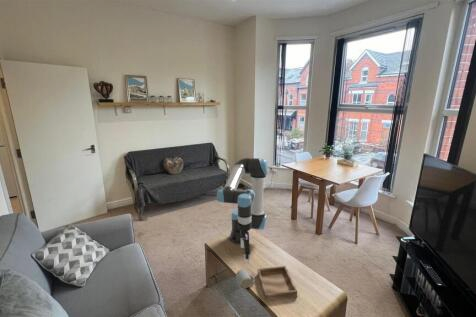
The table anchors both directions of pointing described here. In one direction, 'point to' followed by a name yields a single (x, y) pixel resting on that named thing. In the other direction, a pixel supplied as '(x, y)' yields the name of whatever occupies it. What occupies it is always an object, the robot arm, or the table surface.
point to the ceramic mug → (244, 278)
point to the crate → (276, 283)
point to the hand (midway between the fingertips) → (244, 254)
